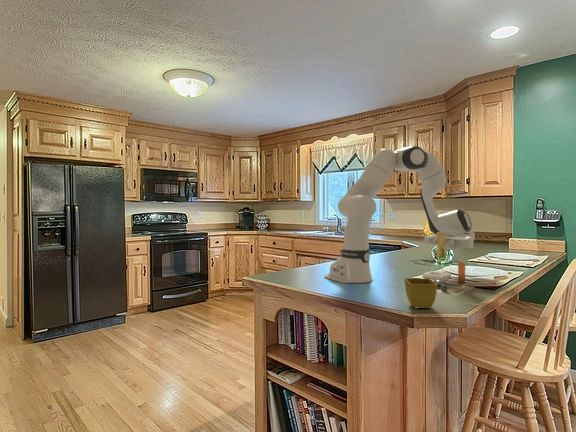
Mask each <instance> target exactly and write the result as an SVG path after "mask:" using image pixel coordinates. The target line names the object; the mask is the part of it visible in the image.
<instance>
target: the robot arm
mask: <svg viewBox="0 0 576 432" xmlns="http://www.w3.org/2000/svg"><path fill="white" fill-rule="evenodd" d="M411 171H415V173H416V174H417V176H418V178H419V180H420V183H421V189H420V190H419V195H420V199H421V203H422V206H423V209H424V212H425V213H424V214H425V215H426V217H427V218H426V219H427V223H428V227H429V230H430V232H431V233H432V234H434V235H426V236H424V241H423V242H424V244H425V245H429V246H430V245H431V246H433V245H434V246H437V232H446V241H444V245H446V249H449V250H452V251H454V250H460V249H469V250H470V249H473V248H474V241H475V238H476V234H475V233H474V230H472V221H471V218H470V216H469V214H468V212H467V213H466V212H465V211H464V210H463V209H459V208H458V209H455V210H452V211H451V210H450V211H449V212H444V213H440V214H439V213H437V210H436V207H435V203H434V200H433V199H434V197H435V196H436V195H437V194H438V193H440V192H441V190H442V189H443V188H444V187H445V186H446V184H447V179H448V178H447V174H446V172H445V170H444V168H443V166H442V164H441V162H440V161H439V159H438V158H437V157H436V156H435V154H434V153H433V152H431V151H425V150H424V149H423V148H421V146H417V145H411V146H410V145H409V146H405V147H401V148H398V149H396V150H393V151H392V150H391V149H388V148H382V149H379V150H378V151H377V153H375V155H373V157H372V158H371V160H370V161H369V163H368V164H367V166H366V167H365V168H364V170H363V171H362V174H361V175H360V177H359V178H358V179H357V181H356V182H355V183H354V184H353V185H352V186H351V187H350V189H349V190H348V191H347V192H346V194H344V196H343V197H341V199H339V201H338V203H337V209H338V211H339V213H340V214H341V215H342V216H343V217H345V218H347V222H346V223H347V224H346V227H345V229H344V231H343V248H342V249H340V250H338V251H339V254H340V256H339V257H338V258H337V259H336V260H335V261H333V262H332V263H331V264H330V266H329V272H328V273H325V275H324V278H325V279H329V280H333V281H335V282H339V283H341V284H350V283H351V284H361V283H362V284H363V283H370V282H372V281H373V276H372V273H371V268H370V259H371V258H370V256H371V253H370V251H371V250H370V248H369V246H370V244H369V240H370V239H369V237H370V236H369V235H370V227H371V223H372V219H373V216H374V214H375V213H376V211H377V204H376V201H375V199H373V198H374V197H375V196H376V195H377V194H379V193H380V192H381V191H382V188H383V187H384V186H385V184H386V183H387V181H388V179H389V178H390V176H391V174H392V172H396V173H402V172H403V173H404V172H411Z"/></svg>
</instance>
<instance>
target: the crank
mask: <svg viewBox="0 0 576 432" xmlns="http://www.w3.org/2000/svg"><path fill="white" fill-rule="evenodd" d="M457 265H458V266H457V268H458V269H457V281H446V279H445V280H439V279H433V280H434V282H435V283H436V284H437V286H442V285H447V286H456V287H462V285H466V263H465V262H463V261H462V262H458V263H457Z"/></svg>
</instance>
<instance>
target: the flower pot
mask: <svg viewBox="0 0 576 432" xmlns="http://www.w3.org/2000/svg"><path fill="white" fill-rule="evenodd" d="M432 280H433V279H430V278H417V277H415V278H411V277H410V278H409V277H408V278H406V277H405V278H404V284H405V294H406V296H407V299H408V303H409V304H410V306H412V308H413V307H418V308H430V309H431V308H432V307H433V305H434V303H435V301H436V297H437V292H436V291H437V284H436V283H435V282H433V281H432Z"/></svg>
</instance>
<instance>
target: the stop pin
mask: <svg viewBox="0 0 576 432" xmlns="http://www.w3.org/2000/svg"><path fill="white" fill-rule="evenodd" d="M436 236H437V245H436V258H438V259H446V257H447V256H446V254H447V252H446V251H447V247H446V245H444V241H446V232H437V235H436Z"/></svg>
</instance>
